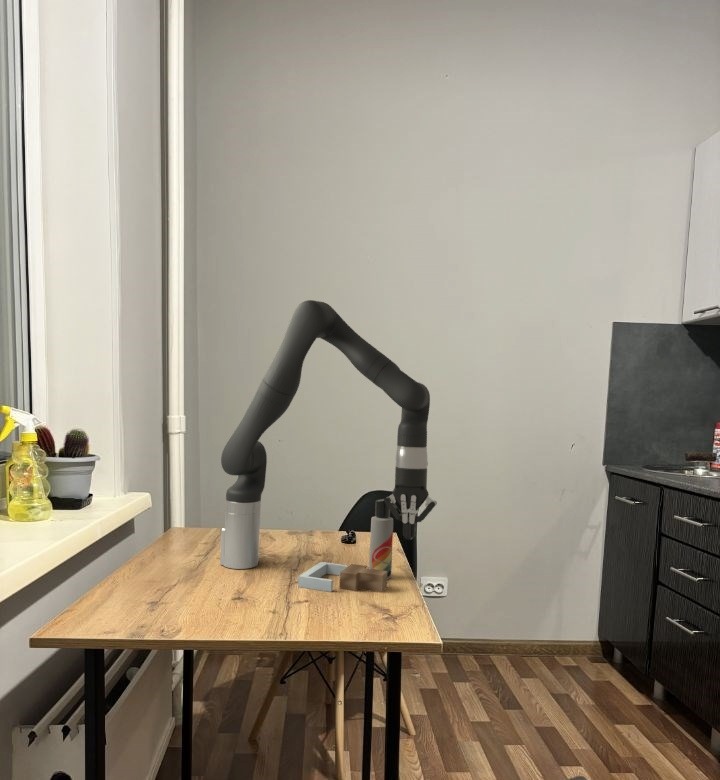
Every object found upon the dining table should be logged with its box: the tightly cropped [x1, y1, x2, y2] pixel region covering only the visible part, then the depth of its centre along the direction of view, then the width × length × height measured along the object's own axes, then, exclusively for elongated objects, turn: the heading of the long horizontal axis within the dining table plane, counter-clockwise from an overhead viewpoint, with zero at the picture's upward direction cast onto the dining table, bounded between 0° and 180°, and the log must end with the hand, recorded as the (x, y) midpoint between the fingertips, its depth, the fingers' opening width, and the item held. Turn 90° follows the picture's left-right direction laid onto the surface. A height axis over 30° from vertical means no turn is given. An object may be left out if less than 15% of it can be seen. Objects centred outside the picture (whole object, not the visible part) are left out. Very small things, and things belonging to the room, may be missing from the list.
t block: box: [339, 563, 388, 593], centre depth 140 cm, size 10×8×4 cm
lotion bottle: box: [368, 498, 394, 580], centre depth 149 cm, size 6×6×20 cm
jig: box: [297, 561, 349, 593], centre depth 143 cm, size 8×14×2 cm, turn 161°
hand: (409, 538), depth 137 cm, fingers closed
